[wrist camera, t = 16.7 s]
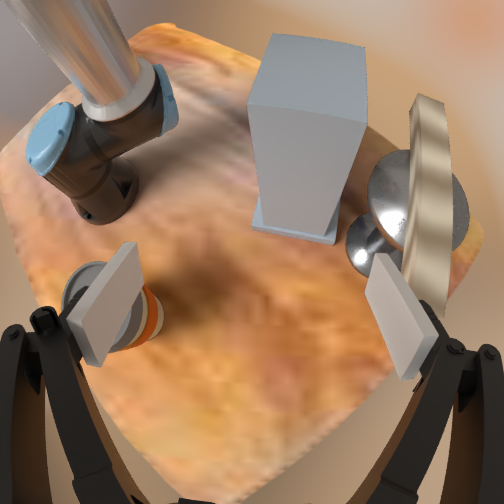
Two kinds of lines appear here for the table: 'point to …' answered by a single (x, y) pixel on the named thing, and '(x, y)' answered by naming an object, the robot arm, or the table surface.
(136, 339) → the reusable coffee cup
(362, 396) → the table surface
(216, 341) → the table surface
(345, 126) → the stand
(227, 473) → the table surface
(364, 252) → the metal pedestal stand
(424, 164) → the beech bar
